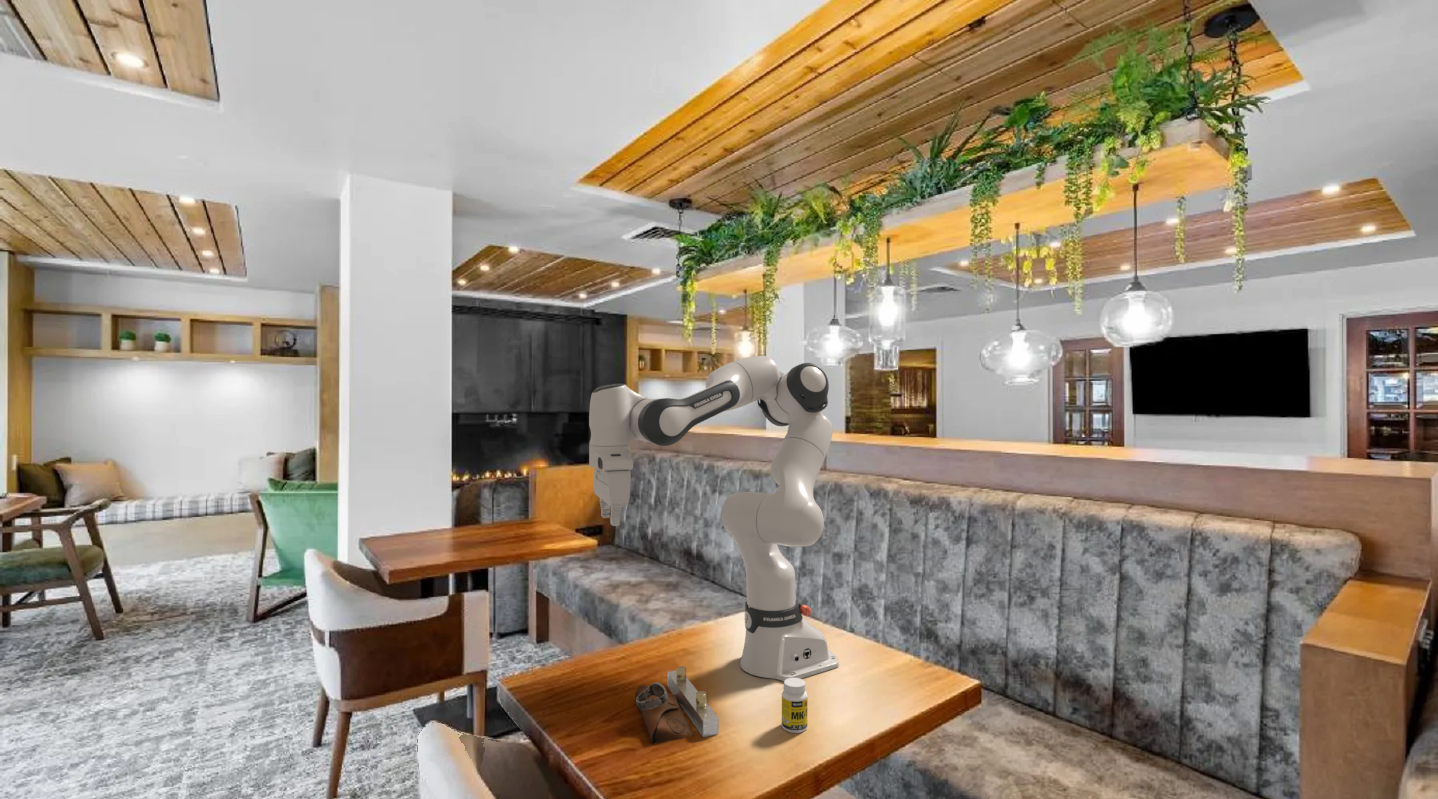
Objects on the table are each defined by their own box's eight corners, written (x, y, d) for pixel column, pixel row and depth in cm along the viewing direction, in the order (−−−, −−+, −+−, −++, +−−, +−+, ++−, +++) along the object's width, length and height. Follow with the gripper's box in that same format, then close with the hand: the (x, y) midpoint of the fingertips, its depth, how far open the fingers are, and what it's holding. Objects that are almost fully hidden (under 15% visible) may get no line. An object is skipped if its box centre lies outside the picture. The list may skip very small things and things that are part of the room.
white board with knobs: (680, 683, 138) (680, 658, 138) (718, 734, 118) (718, 704, 117) (667, 686, 137) (667, 660, 137) (703, 737, 116) (703, 707, 116)
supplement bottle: (791, 736, 117) (791, 690, 117) (776, 724, 121) (776, 679, 121) (812, 729, 119) (812, 684, 119) (797, 718, 123) (797, 674, 123)
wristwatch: (663, 692, 119) (665, 676, 124) (632, 702, 120) (635, 686, 124) (670, 708, 120) (671, 692, 125) (638, 718, 120) (641, 701, 125)
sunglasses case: (698, 738, 117) (679, 709, 116) (665, 763, 115) (646, 734, 114) (675, 694, 134) (658, 668, 133) (646, 715, 132) (629, 690, 131)
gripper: (586, 454, 149) (587, 514, 150) (604, 463, 130) (605, 531, 131) (613, 453, 152) (614, 512, 152) (635, 461, 133) (635, 529, 133)
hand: (610, 521), depth 141 cm, fingers open, 8 cm apart
